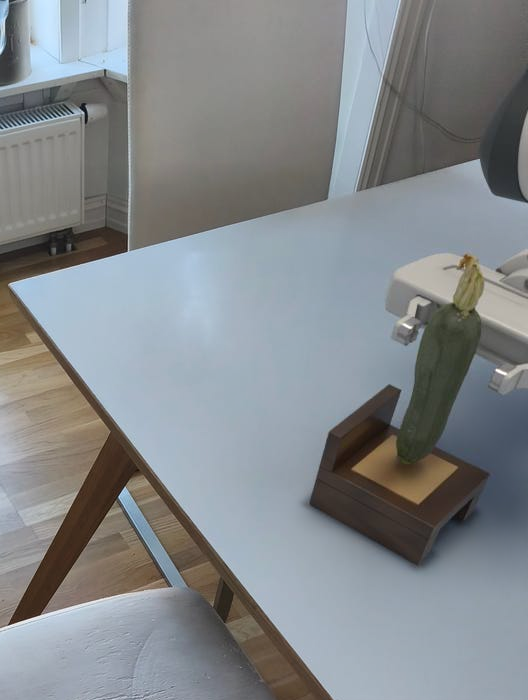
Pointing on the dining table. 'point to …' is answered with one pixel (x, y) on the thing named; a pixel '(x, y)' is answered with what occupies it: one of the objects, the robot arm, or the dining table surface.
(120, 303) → the dining table surface
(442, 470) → the wooden toy chair
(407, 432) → the vegetable
